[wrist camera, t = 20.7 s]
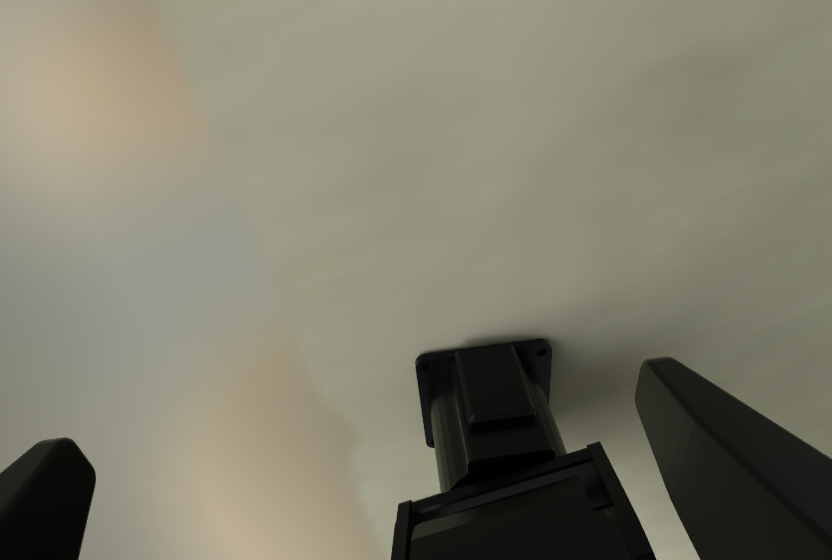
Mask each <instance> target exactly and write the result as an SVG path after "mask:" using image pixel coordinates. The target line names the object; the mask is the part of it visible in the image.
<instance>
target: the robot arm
mask: <svg viewBox="0 0 832 560" xmlns="http://www.w3.org/2000/svg"><path fill="white" fill-rule="evenodd" d="M541 348H543V349H542V350H540V351H537V350H539V349H541ZM551 360H552V348H551V346H550V344H549V342H548V341H547V340H545V339H535V340H527V341H520V342H512V343H504V344H497V345H489V346H482V347H474V348H467V349H459V350H452V351H444V352H437V353H429V354H423V355H420V356H419V357H417V359H416V361H415V365H416V373H417V380H418V387H419V395H420V402H421V409H422V416H423V423H424V430H425V437H426V444H427V446H429V447H431V448H435V453H436V460H437V467H438V475H439V482H440V489H441V493H439V494H436V495H433V496H430V497H426V498H423V499H420V500H417V501H413V502H412V500H409V501H406V502H403V503H399V504H398V512H397V520H396V523H395V529H394V538H393V546H392V555H391V560H656V557H655V555H654V553H653V550H652V548H651V546H650V543H649V541H648V539H647V537H646V534H645V532H644V530H643V528H642V526H641V523H640V521H639V519H638V517H637V515H636V513H635V511H634V509H633V507H632V505H631V503H630V501H629V499H628V497H627V495H626V493H625V491H624V489H623V487H622V485H621V483H620V481H619V479H618V477H617V475H616V473H615V471H614V469H613V467H612V465H611V463H610V461H609V459H608V457H607V455H606V453H605V451H604V449H603V447H602V445H601V443H600V441H599V442H596V443H593V444H589V445H587V448H584V449H581V450H578V451H575V452H571V453H568V454H567V452H566V449H565V447H564V444H563V441H562V439H561V436H560V433H559V431H558V428H557V426H556V423H555V420H554V418H553V415H552V412H551V410H550V407H549V391H550V375H551ZM423 364H429V365H427V366H423ZM635 402H636V407H637V411H638V413H639V416H640V419H641V421H642V424H643V427H644V430H645V432H646V435H647V438H648V440H649V443H650V446H651V448H652V451H653V454H654V456H655V459H656V462H657V465H658V467H659V470H660V473H661V475H662V478H663V481H664V483H665V486H666V488H667V491H668V493H669V496H670V498H671V501H672V503H673V505H674V507H675V509H676V511H677V514H678V516H679V518H680V520H681V522H682V524H683V526H684V528H685V530H686V532H687V534H688V536H689V538H690V540H691V542H692V544H693V546H694V548H695V550H696V552H697V554H698V556H699V558H700V560H832V459H831V458H829V457H828V456H826V455H825V454H823V453H821V452H820V451H818V450H817V449H815V448H814V447H812V446H810V445H809V444H807V443H806V442H804V441H803V440H801V439H799V438H798V437H796V436H795V435H793V434H792V433H790V432H788V431H787V430H785V429H784V428H782V427H781V426H779V425H777V424H776V423H774V422H773V421H771V420H770V419H768V418H766V417H765V416H763V415H762V414H760V413H759V412H757V411H756V410H754V409H752V408H751V407H749V406H748V405H746V404H745V403H743V402H741V401H740V400H738V399H737V398H735V397H734V396H732V395H730V394H729V393H727V392H726V391H724V390H723V389H721V388H719V387H718V386H716V385H715V384H713V383H712V382H710V381H708V380H707V379H705V378H704V377H702V376H701V375H699V374H697V373H696V372H694V371H693V370H691V369H690V368H688V367H686V366H685V365H683V364H682V363H680V362H679V361H677V360H675V359H673V358H671V357H661V358H653V359H647V360H645V361H644V362H643V363H642V365H641V369H640V374H639V379H638V384H637V389H636V394H635ZM95 483H96V474H95V470H94V468H93V466H92V465H91V463H90V462H89V460H88V459H87V458H86V456H85V455H84V454H83V452H82V451H81V450H80V448H79V447H78V446H77V445H76V443H75V442H74V441H73V440H72V439H70V438H66V437H64V438H56V439H49V440H43V441H40V442H38V443H37V444H35V445H34V446H33V447H32V448H30V449H29V450H28V451H27V452H26V453H25V454H23V455H22V456H21V457H20V458H18V459H17V460H16V461H15V462H14V463H12V464H11V465H10V466H9V467H7V468H6V469H5V470H4V471H3V472H1V473H0V560H78V559H79V555H80V550H81V546H82V541H83V537H84V533H85V528H86V523H87V519H88V515H89V511H90V506H91V502H92V497H93V493H94V488H95Z"/></svg>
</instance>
